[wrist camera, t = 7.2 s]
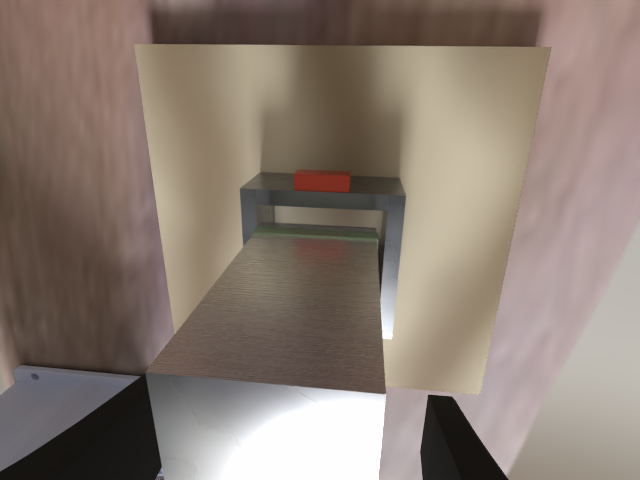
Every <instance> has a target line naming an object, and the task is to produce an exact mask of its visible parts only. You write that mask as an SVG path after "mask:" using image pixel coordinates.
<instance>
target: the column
mask: <svg viewBox="0 0 640 480" xmlns="http://www.w3.org/2000/svg"><path fill="white" fill-rule="evenodd" d="M377 251H378V232H376V228H370V227H351V226H332V225H313V224H293V223H274V222H262V223H261V225H260V226H256V228H255V229H254V230H253V231H252V236H251V237H250V239H249V240H248V241H247V243H246V244H245V245H244V246H243V248H242V249H241V250H240V252H239V253H238V254H237V255H236V257H235V258H234V259H233V260H232V262H231V263H230V264H229V266H228V267H227V268H226V269H225V271H224V272H223V273H222V275H221V276H220V277H219V278H218V280H217V281H216V282H215V283H214V285H213V286H212V287H211V289H210V290H209V291H208V292H207V294H206V295H205V296H204V298H203V299H202V300H201V301H200V303H199V304H198V305H197V307H196V308H195V309H194V310H193V312H192V313H191V314H190V315H189V317H188V318H187V319H186V321H185V322H184V323H183V324H182V326H181V327H180V328H179V330H178V331H177V332H176V333H175V335H174V336H173V337H172V339H171V340H170V341H169V342H168V344H167V345H166V346H165V347H164V349H163V350H162V351H161V353H160V354H159V355H158V356H157V358H156V359H155V360H154V362H153V363H152V364H151V365H150V367H149V368H148V369H147V371H146V372H145V374H146V379H147V385H148V391H149V396H150V402H151V407H152V413H153V419H154V424H155V430H156V436H157V441H158V447H159V453H160V458H161V464H162V470H163V475H164V480H378V472H379V462H380V451H381V441H382V431H383V420H384V410H385V400H386V386H385V369H384V353H383V336H382V320H381V303H380V287H379V270H378V253H377Z"/></svg>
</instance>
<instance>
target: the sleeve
mask: <svg viewBox="0 0 640 480" xmlns="http://www.w3.org/2000/svg"><path fill="white" fill-rule="evenodd" d="M240 201H241V218H242V236H243V246H244V245H245V244H246V243H247V241H248V240H249V239H250V237H251V236H252V231H253V230H254V229H255V228H256V226H260V225H261V223H262V222H274V223H275V206H289V207H310V208H331V209H352V210H373V211H383V214H382V227H381V240H380V253H379V266H378V270H379V287H380V303H381V320H382V336H383V339H392V335H393V325H394V315H395V305H396V294H397V284H398V274H399V264H400V254H401V243H402V233H403V223H404V213H405V202H406V194H405V191H404V188H403V185H402V183H401V180H400V178H397V177H372V176H351V171H327V170H301V169H298V170H297V171H296V172H295V173H270V172H260V173H259V174H257V175H256V176H255V177H254V178H252V179H251V180H250V181H248V182H247V183H246V184H245V185H243V186H242V187H241V188H240Z"/></svg>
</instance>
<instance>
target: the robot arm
mask: <svg viewBox="0 0 640 480" xmlns="http://www.w3.org/2000/svg"><path fill="white" fill-rule="evenodd" d="M13 375H14V378H15V381H16V383H14V384H13V385H12V386H11V387H10V388H8V389H7V390H6V391H5V392H4V393H2V394H1V395H0V480H155V479H156V477H157V476H162V477H164V475H163V470H162V464H161V458H160V453H159V447H158V441H157V436H156V430H155V424H154V419H153V413H152V407H151V402H150V396H149V391H148V385H147V379H146V374H144V375H142V376H132V375H121V374H110V373H100V372H89V371H78V370H68V369H57V368H47V367H36V366H25V365H20V366H18V367H17V368H16V369H14V371H13ZM420 453H421V465H422V476H423V480H508V478H507V477H506V476H505V474H504V473H503V471H502V470H501V469H500V467H499V466H498V464H497V463H496V462H495V460H494V459H493V457H492V456H491V455H490V453H489V452H488V450H487V449H486V447H485V446H484V445H483V443H482V442H481V440H480V439H479V437H478V436H477V434H476V433H475V431H474V430H473V428H472V427H471V425H470V423H469V422H468V420H467V419H466V417H465V416H464V414H463V412H462V411H461V409H460V407H459V406H458V404H457V402H456V401H455V400H454V399H453V397H450V396H438V395H428V401H427V408H426V415H425V422H424V429H423V437H422V444H421V451H420Z"/></svg>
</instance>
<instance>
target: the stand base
mask: <svg viewBox="0 0 640 480" xmlns="http://www.w3.org/2000/svg"><path fill="white" fill-rule="evenodd" d="M134 46H135V53H136V61H137V68H138V75H139V82H140V90H141V97H142V104H143V111H144V118H145V126H146V133H147V140H148V147H149V155H150V162H151V169H152V176H153V184H154V191H155V198H156V205H157V212H158V220H159V227H160V234H161V241H162V249H163V256H164V263H165V270H166V278H167V285H168V292H169V299H170V306H171V314H172V321H173V328H174V335H175V333H176V332H177V331H178V330H179V328H180V327H181V326H182V324H183V323H184V322H185V321H186V319H187V318H188V317H189V315H190V314H191V313H192V312H193V310H194V309H195V308H196V307H197V305H198V304H199V303H200V301H201V300H202V299H203V298H204V296H205V295H206V294H207V292H208V291H209V290H210V289H211V287H212V286H213V285H214V283H215V282H216V281H217V280H218V278H219V277H220V276H221V275H222V273H223V272H224V271H225V269H226V268H227V267H228V266H229V264H230V263H231V262H232V260H233V259H234V258H235V257H236V255H237V254H238V253H239V252H240V250H241V249H242V248H243V236H242V218H241V201H240V188H241V187H242V186H243V185H245V184H246V183H247V182H248V181H250V180H251V179H252V178H254V177H255V176H256V175H257V174H259V173H260V172H270V173H295V172H296V171H297V170H298V169H301V170H327V171H351V176H372V177H397V178H400V180H401V183H402V185H403V188H404V191H405V194H406V202H405V213H404V223H403V233H402V243H401V254H400V264H399V274H398V284H397V294H396V305H395V315H394V325H393V335H392V339H383V353H384V369H385V386H386V387H397V388H408V389H419V390H430V391H441V392H452V393H463V394H474V395H480V392H481V387H482V382H483V377H484V372H485V367H486V363H487V358H488V353H489V348H490V343H491V338H492V333H493V329H494V324H495V319H496V314H497V309H498V304H499V299H500V295H501V290H502V285H503V280H504V275H505V270H506V265H507V261H508V256H509V251H510V246H511V241H512V236H513V231H514V227H515V222H516V217H517V212H518V207H519V202H520V197H521V193H522V188H523V183H524V178H525V173H526V168H527V163H528V159H529V154H530V149H531V144H532V139H533V134H534V129H535V125H536V120H537V115H538V110H539V105H540V100H541V95H542V91H543V86H544V81H545V76H546V71H547V66H548V61H549V57H550V52H551V47H490V46H349V45H209V44H134ZM382 214H383V211H373V210H352V209H331V208H310V207H289V206H275V223H293V224H313V225H332V226H351V227H370V228H376V232H378V251H377V253H378V266H379V253H380V240H381V227H382Z"/></svg>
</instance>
